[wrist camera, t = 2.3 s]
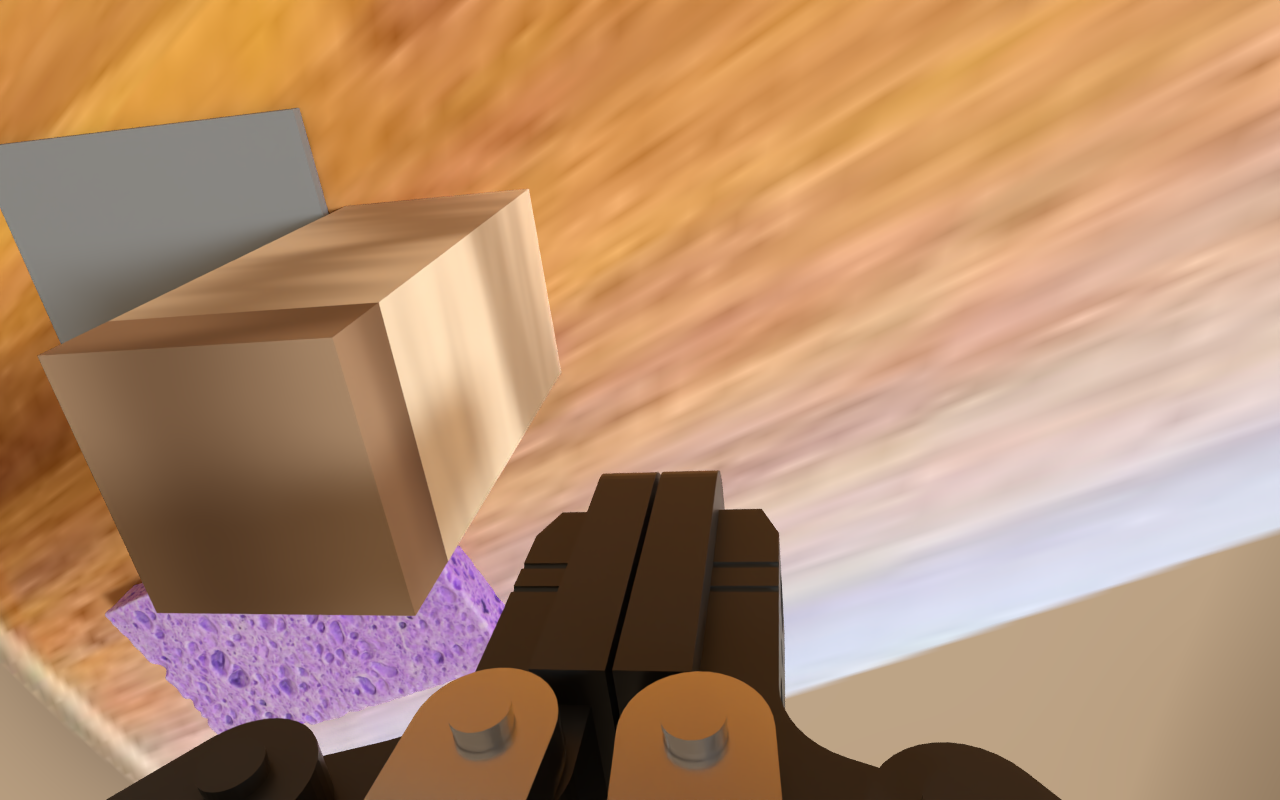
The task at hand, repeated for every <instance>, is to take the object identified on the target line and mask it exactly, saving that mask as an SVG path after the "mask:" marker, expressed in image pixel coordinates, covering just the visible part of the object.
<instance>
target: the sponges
mask: <svg viewBox="0 0 1280 800" xmlns="http://www.w3.org/2000/svg"><path fill="white" fill-rule="evenodd" d="M504 607H505V605H504V604H503V602H502V601H501V600H500V599H499V598H498V597H497V596H496V595H495V592H494V591H493V589H492V588H491V587H490V585H489V584H488V583H487V581H486V580H485V578H484V577H483V576H482V575H481V573H480V572H479V571H478V570H477V569H476V568H475V566H474V564H473V563H472V561H471V560H470V558H469V557H468V556H467V555H466V554H465V553H464V552H463V550H462V548H461V547H460V546H457V547H456V549H455V551H454V553H453V554H452V556H451V558H450V559H449V561H448V563H447V564H446V566H445V568H444V569H443V571H442V573H441V574H440V576H439V578H438V579H437V581H436V583H435V584H434V586H433V588H432V589H431V591H430V593H429V594H428V596H427V598H426V599H425V601H424V603H423V604H422V606H421V608H420V609H419V611H418V613H417V614H416V616H373V615H282V614H191V613H156V611H155V608H154V606H153V604H152V602H151V600H150V598H149V595H148V593H147V591H146V589H145V587H144V585H143V583H140V584H137V585H134V586H133V587H132V588H131V589H130V590H129V591H127V592H126V594H125V595H124V596H123V597H122V598H121V599H120V600H119V601H118V603H116V604H115V605H114V606H113V607H112V608H111V609H109V610H108V611H107V612H106V613H105V616H106V617H107V618H108V619H109V620H110V621H111V622H112V624H113V625H114V626H115V627H116V628H117V629H119V631H120V632H121V633H122V634H123V635H125V636H126V637H127V638H128V639H129V640H130V641H131V643H132V644H133V645H134V647H136V648H137V649H138V650H139V651H140V652H141V653H142V654H143V655H144V656H145V658H146V659H147V660H148V661H149V662H151V663H152V664H159V665H162V666H164V667H165V668H166V670H167V674H166V677H165V678H166V680H167V681H168V682H170V683H171V684H172V685H174V686H175V687H176V688H177V689H178V691H179V692H180V693H181V695H182V696H183V697H184V698H185V699H191V700H192V701H193V703H194V706H195V708H196V709H197V710H199V711H200V712H201V715H202V717H205V718H207V719H208V725H209V726H210V728H211V729H212V730H214V731H215V732H216V733H217V734H220V733H222V732H224V731H226V730H228V729H231V728H233V727H236V726H238V725H241V724H244V723H248V722H251V721H255V720H261V719H268V718H284V719H291V720H294V721H298V722H300V723H302V724H303V723H306V722H307V723H309V724H311V725H312V724H317V723H320V722H323V721H324V720H330V719H335V718H340V717H342V716H344V715H345V714H346V713H347V712H350V711H360V710H362V709H364V708H366V707H367V706H375V705H379V704H382V703H385V702H389V701H391V700H394V699H396V698H401V697H404V696H407V695H410V694H412V693H414V692H417V691H422V690H426V689H429V688H432V687H435V686H437V685H442V684H444V683H446V682H448V681H451V680H454V679H458V678H460V677H462V676H465V675H468V674H470V673H473V672H475V671H476V669H477V666H478V664H479V662H480V660H481V657H482V655H483V653H484V651H485V649H486V646H487V644H488V642H489V640H490V638H491V635H492V633H493V631H494V629H495V627H496V624H497V622H498V620H499V618H500V616H501V613H502V611H503V609H504Z"/></svg>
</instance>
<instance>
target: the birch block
mask: <svg viewBox="0 0 1280 800" xmlns="http://www.w3.org/2000/svg"><path fill="white" fill-rule="evenodd" d="M38 358H39V360H40V363H41V365H42V367H43V369H44V371H45V373H46V376H47V378H48V380H49V382H50V384H51V386H52V388H53V391H54V393H55V395H56V397H57V399H58V401H59V404H60V406H61V408H62V410H63V412H64V414H65V416H66V419H67V421H68V423H69V425H70V427H71V429H72V432H73V434H74V436H75V438H76V440H77V442H78V445H79V447H80V449H81V451H82V453H83V455H84V457H85V460H86V462H87V464H88V466H89V468H90V470H91V473H92V475H93V477H94V479H95V481H96V483H97V486H98V488H99V490H100V492H101V494H102V496H103V498H104V501H105V503H106V505H107V507H108V509H109V511H110V514H111V516H112V518H113V520H114V522H115V524H116V526H117V529H118V531H119V533H120V535H121V537H122V539H123V542H124V544H125V546H126V548H127V550H128V552H129V555H130V557H131V559H132V561H133V563H134V565H135V567H136V570H137V572H138V574H139V576H140V578H141V580H142V583H143V585H144V587H145V589H146V591H147V593H148V595H149V598H150V600H151V602H152V604H153V606H154V608H155V611H156V613H191V614H282V615H373V616H416V614H417V613H418V611H419V609H420V608H421V606H422V604H423V603H424V601H425V599H426V598H427V596H428V594H429V593H430V591H431V589H432V588H433V586H434V584H435V583H436V581H437V579H438V578H439V576H440V574H441V573H442V571H443V569H444V568H445V566H446V564H447V563H448V561H449V559H450V558H451V556H452V554H453V553H454V551H455V549H456V547H457V546H458V544H459V542H460V541H461V539H462V537H463V536H464V534H465V532H466V531H467V529H468V527H469V526H470V524H471V522H472V521H473V519H474V517H475V516H476V514H477V512H478V511H479V509H480V507H481V506H482V504H483V502H484V501H485V499H486V497H487V496H488V494H489V492H490V491H491V489H492V487H493V486H494V484H495V482H496V481H497V479H498V477H499V476H500V474H501V472H502V471H503V469H504V467H505V466H506V464H507V462H508V461H509V459H510V457H511V456H512V454H513V452H514V451H515V449H516V447H517V446H518V444H519V442H520V441H521V439H522V437H523V436H524V434H525V432H526V431H527V429H528V427H529V426H530V424H531V422H532V420H533V419H534V417H535V415H536V414H537V412H538V410H539V409H540V407H541V405H542V404H543V402H544V400H545V399H546V397H547V395H548V394H549V392H550V390H551V389H552V387H553V385H554V384H555V382H556V380H557V379H558V377H559V375H560V374H561V368H560V363H559V357H558V351H557V346H556V340H555V334H554V329H553V323H552V318H551V312H550V306H549V301H548V295H547V289H546V284H545V278H544V272H543V267H542V261H541V256H540V250H539V244H538V239H537V233H536V227H535V222H534V216H533V210H532V205H531V199H530V194H529V189H520V190H509V191H499V192H488V193H478V194H467V195H457V196H447V197H436V198H426V199H415V200H405V201H394V202H384V203H373V204H363V205H352V206H345V207H343V208H341V209H339V210H336V211H334V212H332V213H330V214H328V215H326V216H324V217H322V218H320V219H318V220H316V221H314V222H312V223H310V224H308V225H306V226H304V227H301V228H299V229H297V230H295V231H293V232H291V233H289V234H287V235H285V236H283V237H281V238H279V239H277V240H275V241H273V242H271V243H268V244H266V245H264V246H262V247H260V248H258V249H256V250H254V251H252V252H250V253H248V254H246V255H244V256H242V257H240V258H238V259H236V260H233V261H231V262H229V263H227V264H225V265H223V266H221V267H219V268H217V269H215V270H213V271H211V272H209V273H207V274H205V275H203V276H201V277H198V278H196V279H194V280H192V281H190V282H188V283H186V284H184V285H182V286H180V287H178V288H176V289H174V290H172V291H170V292H168V293H165V294H163V295H161V296H159V297H157V298H155V299H153V300H151V301H149V302H147V303H145V304H143V305H141V306H139V307H137V308H135V309H133V310H130V311H128V312H126V313H124V314H122V315H120V316H118V317H116V318H114V319H112V320H110V321H108V322H106V323H104V324H102V325H100V326H98V327H95V328H93V329H91V330H89V331H87V332H85V333H83V334H81V335H79V336H77V337H75V338H73V339H71V340H69V341H67V342H65V343H63V344H60V345H58V346H56V347H54V348H52V349H50V350H48V351H46V352H44V353H42V354H40V355H38Z"/></svg>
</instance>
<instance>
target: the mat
mask: <svg viewBox="0 0 1280 800" xmlns="http://www.w3.org/2000/svg"><path fill="white" fill-rule="evenodd" d="M0 208H1V211H2V213H3V215H4V217H5V220H6V222H7V224H8V226H9V228H10V231H11V233H12V235H13V237H14V240H15V242H16V244H17V246H18V249H19V251H20V253H21V255H22V258H23V260H24V262H25V264H26V267H27V269H28V271H29V273H30V275H31V278H32V280H33V282H34V284H35V287H36V289H37V291H38V293H39V296H40V298H41V300H42V302H43V305H44V307H45V309H46V311H47V314H48V316H49V318H50V320H51V322H52V325H53V327H54V329H55V331H56V334H57V336H58V338H59V340H60V343H61V344H63V343H65V342H67V341H69V340H71V339H73V338H75V337H77V336H79V335H81V334H83V333H85V332H87V331H89V330H91V329H93V328H95V327H98V326H100V325H102V324H104V323H106V322H108V321H110V320H112V319H114V318H116V317H118V316H120V315H122V314H124V313H126V312H128V311H130V310H133V309H135V308H137V307H139V306H141V305H143V304H145V303H147V302H149V301H151V300H153V299H155V298H157V297H159V296H161V295H163V294H165V293H168V292H170V291H172V290H174V289H176V288H178V287H180V286H182V285H184V284H186V283H188V282H190V281H192V280H194V279H196V278H198V277H201V276H203V275H205V274H207V273H209V272H211V271H213V270H215V269H217V268H219V267H221V266H223V265H225V264H227V263H229V262H231V261H233V260H236V259H238V258H240V257H242V256H244V255H246V254H248V253H250V252H252V251H254V250H256V249H258V248H260V247H262V246H264V245H266V244H268V243H271V242H273V241H275V240H277V239H279V238H281V237H283V236H285V235H287V234H289V233H291V232H293V231H295V230H297V229H299V228H301V227H304V226H306V225H308V224H310V223H312V222H314V221H316V220H318V219H320V218H322V217H324V216H326V215H328V214H329V213H328V209H327V206H326V202H325V199H324V195H323V191H322V188H321V184H320V181H319V177H318V174H317V170H316V167H315V163H314V159H313V156H312V152H311V149H310V145H309V142H308V138H307V134H306V131H305V127H304V124H303V120H302V117H301V113H300V110H299V108H294V109H285V110H277V111H269V112H261V113H253V114H245V115H236V116H228V117H220V118H212V119H204V120H196V121H187V122H179V123H171V124H163V125H155V126H146V127H138V128H130V129H122V130H114V131H106V132H97V133H89V134H81V135H73V136H65V137H57V138H48V139H40V140H32V141H24V142H16V143H7V144H0Z"/></svg>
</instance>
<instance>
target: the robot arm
mask: <svg viewBox="0 0 1280 800" xmlns="http://www.w3.org/2000/svg"><path fill="white" fill-rule="evenodd" d="M784 664H785V646H784V616H783V598H782V580H781V562H780V544H779V533H778V531H777V530H776V528H775V527H774V526H773V524H772V523H771V521H770V520H769V519H768V517H767V516H766V514H765V513H764V512H763V510H762V509H733V510H724V498H723V487H722V479H721V474H720V471H682V472H662V474H661V475H660V473H659V472H651V473H612V474H602V476H601V477H600V479H599V482H598V485H597V487H596V490H595V493H594V495H593V498H592V501H591V503H590V506H589V509H588V511H587V512H570V513H562V514H561V515H560V516H558V517H557V518H556V519H555V520H554V521H553V522H552V523H551V524H549V525H548V526H547V527H546V528H545V529H544V530H543V531H542V532H541V533H539V534H538V535H537V536H536V538H535V541H534V543H533V545H532V547H531V549H530V552H529V554H528V556H527V558H526V560H525V563H524V569H521V571H520V574H519V576H518V578H517V580H516V582H515V585H514V592H511V594H510V596H509V598H508V600H507V602H506V605H505V607H504V609H503V611H502V613H501V616H500V618H499V620H498V622H497V624H496V627H495V629H494V631H493V633H492V635H491V638H490V640H489V642H488V644H487V646H486V649H485V651H484V653H483V655H482V657H481V660H480V662H479V664H478V666H477V669H476V671H475V672H473V673H470V674H468V675H465V676H462V677H460V678H458V679H456V680H454V681H452V682H450V683H448V684H447V685H445V686H444V687H442V688H440V689H439V690H438V691H437V692H435V693H434V694H433V695H432V696H430V697H429V698H428V699H427V701H426V702H425V703H424V704H423V705H422V706H421V707H420V709H419V710H418V711H417V713H416V714H415V716H414V717H413V719H412V721H411V722H410V724H409V726H408V727H407V729H406V730H405V732H404V734H403V735H402V736H401V737H398V738H395V739H391V740H388V741H384V742H380V743H376V744H372V745H367V746H363V747H359V748H355V749H350V750H346V751H342V752H338V753H334V754H329V755H325V756H323V755H322V753H321V750H320V747H319V745H318V742H317V739H316V737H315V736H314V734H313V732H312V731H311V730H310V729H309V728H308V727H307V726H305V725H304V724H302V723H300V722H298V721H294V720H291V719H284V718H268V719H261V720H255V721H251V722H248V723H244V724H241V725H238V726H236V727H233V728H231V729H228V730H226V731H224V732H222V733H220V734H218V735H216V736H214V737H212V738H211V739H209V740H207V741H206V742H204V743H202V744H200V745H199V746H197V747H195V748H194V749H192V750H190V751H188V752H187V753H185V754H183V755H182V756H180V757H178V758H177V759H175V760H173V761H171V762H170V763H168V764H166V765H165V766H163V767H161V768H159V769H158V770H156V771H154V772H153V773H151V774H149V775H148V776H146V777H144V778H142V779H141V780H139V781H137V782H136V783H134V784H132V785H131V786H129V787H127V788H126V789H124V790H122V791H120V792H119V793H117V794H115V795H114V796H112V797H110V798H108V799H107V800H1061V799H1060V798H1059V797H1057V796H1056V795H1055V794H1053V793H1052V792H1051V791H1050V790H1048V789H1047V788H1046V787H1044V786H1043V785H1042V784H1041V783H1039V782H1038V781H1037V780H1036V779H1034V778H1033V777H1032V776H1030V775H1029V774H1028V773H1027V772H1025V771H1024V770H1022V769H1021V768H1019V767H1018V766H1016V765H1015V764H1014V763H1012V762H1010V761H1008V760H1006V759H1004V758H1003V757H1001V756H999V755H997V754H994V753H992V752H989V751H986V750H984V749H981V748H977V747H973V746H969V745H965V744H957V743H948V742H947V743H928V744H922V745H917V746H914V747H910V748H907V749H905V750H903V751H901V752H899V753H897V754H895V755H893V756H892V757H891V758H889V759H888V760H887V761H885V762H884V763H883V764H882V766H881V767H880V768H878V767H875V766H872V765H868V764H865V763H862V762H859V761H856V760H852V759H849V758H846V757H844V756H841V755H839V754H836V753H833V752H831V751H829V750H827V749H826V748H824V747H822V746H820V745H818V744H817V743H815V742H814V741H812V740H811V739H810V738H808V737H807V736H806V735H805V734H804V733H803V732H801V731H800V730H799V729H798V728H797V727H796V726H795V724H794V723H793V722H792V720H791V719H790V718H789V716H788V714H787V712H786V711H785V665H784Z"/></svg>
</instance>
